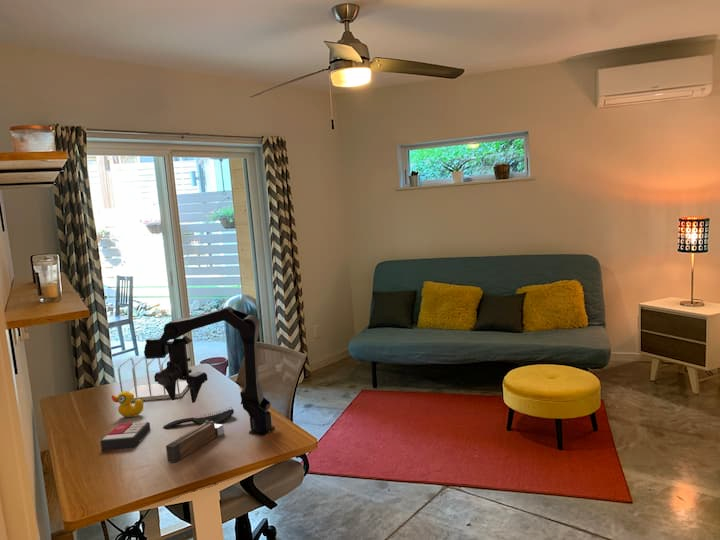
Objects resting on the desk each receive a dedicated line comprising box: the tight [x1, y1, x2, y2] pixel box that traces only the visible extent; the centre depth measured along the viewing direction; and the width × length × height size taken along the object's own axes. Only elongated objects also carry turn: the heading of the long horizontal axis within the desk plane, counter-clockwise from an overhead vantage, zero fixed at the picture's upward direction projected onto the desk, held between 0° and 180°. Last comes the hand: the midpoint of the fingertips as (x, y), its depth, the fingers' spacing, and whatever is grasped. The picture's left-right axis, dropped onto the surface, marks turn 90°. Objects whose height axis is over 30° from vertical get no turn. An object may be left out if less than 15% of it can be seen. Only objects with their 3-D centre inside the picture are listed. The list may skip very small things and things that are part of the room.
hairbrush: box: [162, 406, 235, 430], centre depth 191 cm, size 8×4×25 cm
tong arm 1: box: [165, 420, 210, 463], centre depth 170 cm, size 1×19×6 cm, turn 156°
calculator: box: [100, 420, 151, 452], centre depth 181 cm, size 11×4×15 cm
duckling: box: [111, 390, 144, 418], centre depth 202 cm, size 11×5×10 cm, turn 91°
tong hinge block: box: [214, 423, 225, 438], centre depth 180 cm, size 4×3×3 cm
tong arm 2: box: [170, 421, 217, 463], centre depth 169 cm, size 1×19×6 cm, turn 155°
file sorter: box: [117, 354, 189, 402], centre depth 226 cm, size 25×17×16 cm
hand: (183, 401), depth 180 cm, fingers open, 9 cm apart
